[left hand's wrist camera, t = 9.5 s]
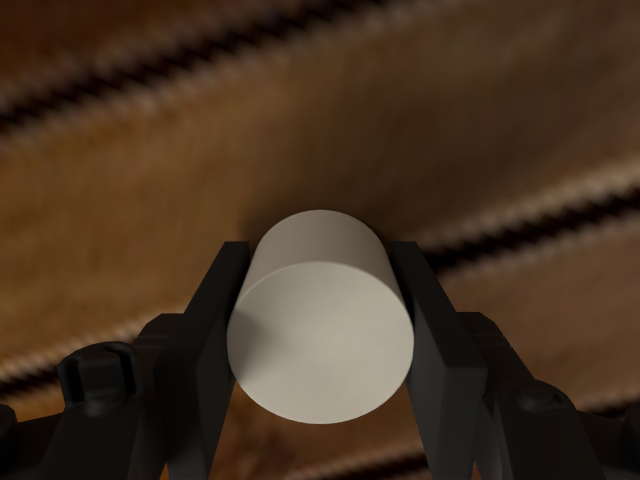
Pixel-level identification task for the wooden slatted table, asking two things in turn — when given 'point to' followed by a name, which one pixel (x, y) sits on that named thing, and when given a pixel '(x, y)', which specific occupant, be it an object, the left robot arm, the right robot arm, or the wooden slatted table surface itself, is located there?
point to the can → (320, 321)
